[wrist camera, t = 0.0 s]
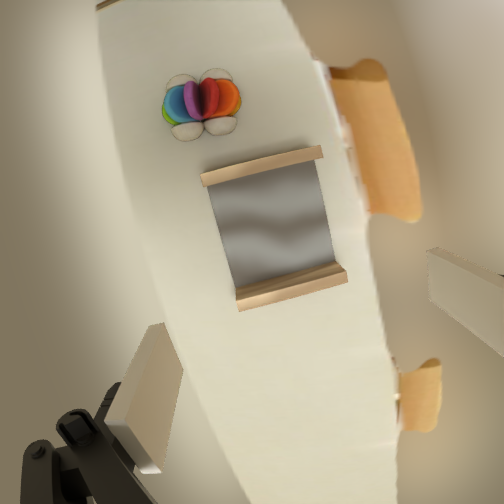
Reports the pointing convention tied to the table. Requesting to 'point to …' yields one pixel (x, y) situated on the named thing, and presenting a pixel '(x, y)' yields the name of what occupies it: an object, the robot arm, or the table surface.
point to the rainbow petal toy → (201, 104)
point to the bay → (274, 227)
